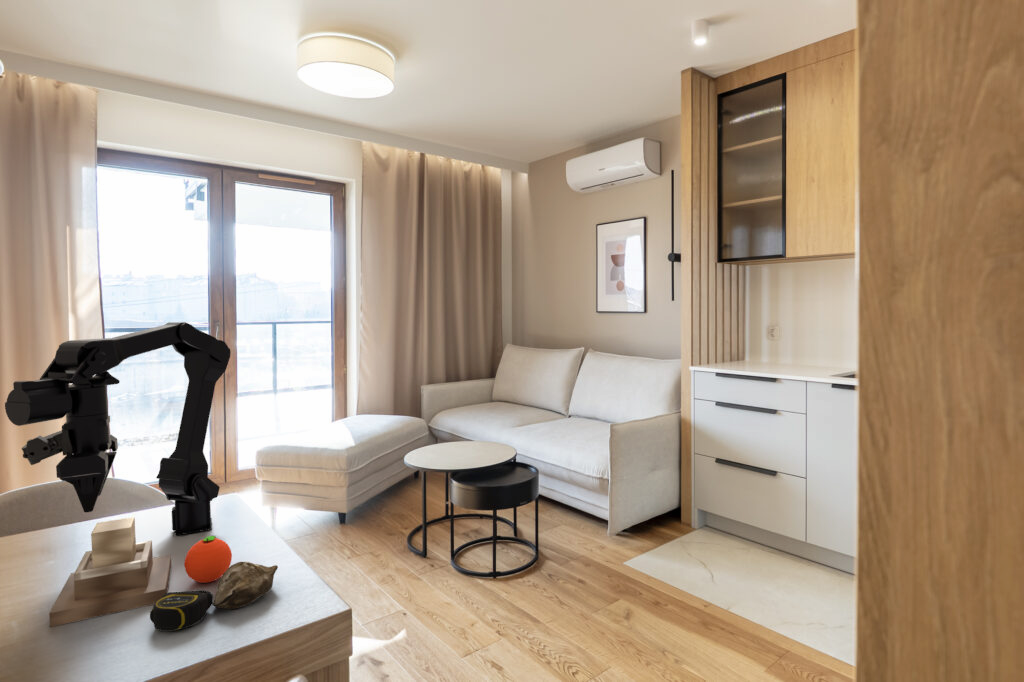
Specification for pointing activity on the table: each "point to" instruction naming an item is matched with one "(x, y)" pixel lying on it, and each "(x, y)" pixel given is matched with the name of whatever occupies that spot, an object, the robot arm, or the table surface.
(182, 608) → the tape measure
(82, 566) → the tower base
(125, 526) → the maple block
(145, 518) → the table surface
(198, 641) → the table surface
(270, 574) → the fossilized seashell
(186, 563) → the clementine
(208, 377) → the robot arm
